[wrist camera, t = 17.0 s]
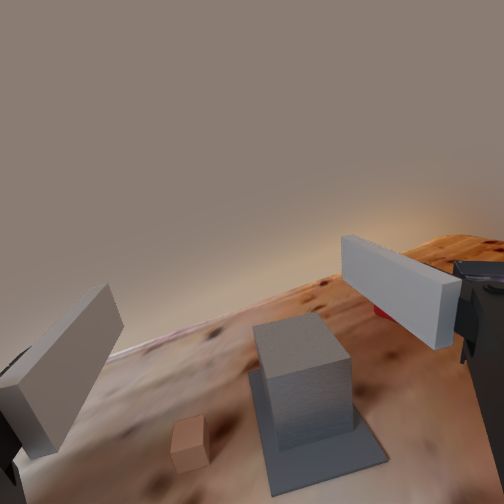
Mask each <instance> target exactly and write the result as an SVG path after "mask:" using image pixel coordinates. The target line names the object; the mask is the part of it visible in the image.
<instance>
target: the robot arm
mask: <svg viewBox="0 0 504 504" xmlns="http://www.w3.org/2000/svg"><path fill="white" fill-rule="evenodd" d="M341 254H342V279H343V280H344V281H345V282H347V283H348V284H349V285H350V286H352V287H353V288H354V289H356V290H357V291H358V292H360V293H361V294H362V295H363V296H365V297H366V298H367V299H369V300H370V301H371V302H372V303H374V304H375V305H376V306H378V307H379V308H380V309H381V310H383V311H384V312H385V313H387V314H388V315H389V316H390V317H392V318H393V319H394V320H396V321H397V322H398V323H400V324H401V325H402V326H403V327H405V328H406V329H407V330H409V331H410V332H411V333H412V334H414V335H415V336H416V337H418V338H419V339H420V340H421V341H423V342H424V343H425V344H427V345H428V346H429V347H430V348H432V349H433V350H434V351H435V350H438V349H442V348H446V347H449V346H452V345H453V338H454V331H455V332H456V333H458V334H459V335H461V336H463V337H464V342H463V348H462V354H461V360H460V363H461V364H464V362H465V360H467V363H468V367H469V371H470V374H471V378H472V381H473V385H474V388H475V392H476V396H477V399H478V403H479V406H480V410H481V414H482V417H483V421H484V424H485V428H486V432H487V435H488V439H489V442H490V446H491V450H492V453H493V457H494V460H495V464H496V467H497V471H498V475H499V478H500V482H501V485H502V489H503V493H504V282H499V281H478V282H475V283H472V282H470V281H467V280H465V279H462V278H460V277H457V276H455V275H452V274H450V273H448V272H446V273H445V271H443V270H440V269H436V268H435V267H433V266H431V265H428V264H426V263H421V262H418V261H416V260H413V259H411V258H408V257H406V256H404V255H401V254H399V253H396V252H394V251H392V250H389V249H387V248H384V247H382V246H379V245H377V244H374V243H372V242H370V241H367V240H365V239H363V238H360V237H358V236H355V235H349V236H343V237H341ZM123 328H124V325H123V322H122V320H121V317H120V314H119V312H118V309H117V306H116V303H115V301H114V298H113V295H112V293H111V290H110V287H109V285H108V283H105V284H99V285H94V286H92V287H91V288H90V289H89V290H88V291H87V292H86V293H85V294H84V295H83V296H82V297H81V298H80V299H79V300H78V301H77V302H76V303H75V304H74V305H73V306H72V307H71V308H70V309H69V310H68V311H67V312H66V313H65V314H64V315H63V316H62V317H61V318H60V319H59V320H58V321H57V322H56V323H55V324H54V325H53V326H52V327H51V328H50V329H48V331H47V332H45V333H44V334H43V335H42V336H41V338H40V339H39V340H37V342H35V343H34V344H33V345H32V346H31V347H30V348H28V349H27V350H25V351H24V352H22V353H21V354H20V355H19V356H17V357H16V358H15V359H14V360H13V361H12V362H11V363H10V364H9V366H8V367H6V368H5V369H4V370H3V371H2V372H1V373H0V504H27V503H26V499H25V495H24V491H23V487H22V483H21V479H20V475H19V471H18V468H17V466H16V465H15V463H14V462H13V459H14V457H15V456H16V454H17V453H18V451H19V450H20V448H21V447H23V449H24V450H25V452H26V453H27V455H28V457H29V458H30V460H32V459H35V458H39V457H43V456H46V455H50V454H54V453H58V451H59V449H60V447H61V445H62V443H63V441H64V439H65V438H66V436H67V434H68V432H69V430H70V428H71V426H72V424H73V422H74V421H75V419H76V417H77V415H78V413H79V411H80V409H81V407H82V405H83V404H84V402H85V400H86V398H87V396H88V394H89V392H90V390H91V388H92V387H93V385H94V383H95V381H96V379H97V377H98V375H99V373H100V371H101V370H102V368H103V366H104V364H105V362H106V360H107V358H108V356H109V354H110V352H111V351H112V349H113V347H114V345H115V343H116V341H117V339H118V337H119V336H120V334H121V332H122V330H123Z"/></svg>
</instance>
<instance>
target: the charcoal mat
mask: <svg viewBox="0 0 504 504" xmlns="http://www.w3.org/2000/svg"><path fill="white" fill-rule="evenodd" d="M248 373H249V379H250V384H251V389H252V394H253V400H254V405H255V410H256V416H257V421H258V426H259V432H260V437H261V442H262V447H263V453H264V458H265V463H266V469H267V474H268V479H269V484H270V490H271V495H272V497H275V496H278V495H281V494H284V493H288V492H291V491H294V490H298V489H301V488H304V487H307V486H311V485H314V484H317V483H320V482H324V481H327V480H330V479H334V478H337V477H340V476H343V475H347V474H350V473H353V472H357V471H360V470H363V469H366V468H370V467H373V466H376V465H379V464H383V463H386V462H388V458H387V457H386V455H385V454H384V452H383V450H382V449H381V447H380V446H379V444H378V442H377V441H376V439H375V438H374V436H373V434H372V433H371V431H370V430H369V428H368V426H367V425H366V423H365V421H364V420H363V418H362V417H361V415H360V413H359V412H358V410H357V409H356V407H355V405H354V404H353V428H354V431H352V432H349V433H346V434H342V435H339V436H335V437H332V438H328V439H325V440H321V441H318V442H314V443H311V444H307V445H304V446H300V447H297V448H293V449H290V450H286V451H283V452H279V448H278V444H277V440H276V436H275V432H274V428H273V424H272V420H271V416H270V412H269V408H268V404H267V400H266V395H265V391H264V387H263V382H262V376H261V371H260V369H259V370H255V371H251V372H248Z"/></svg>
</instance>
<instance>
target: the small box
mask: <svg viewBox="0 0 504 504" xmlns="http://www.w3.org/2000/svg"><path fill="white" fill-rule="evenodd" d="M452 275H455V276H457V277H460V278H462V279H465V280H467V281H470V282H472V283H475V282H478V281H499V282H504V262H489V261H454V267H453V274H452Z"/></svg>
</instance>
